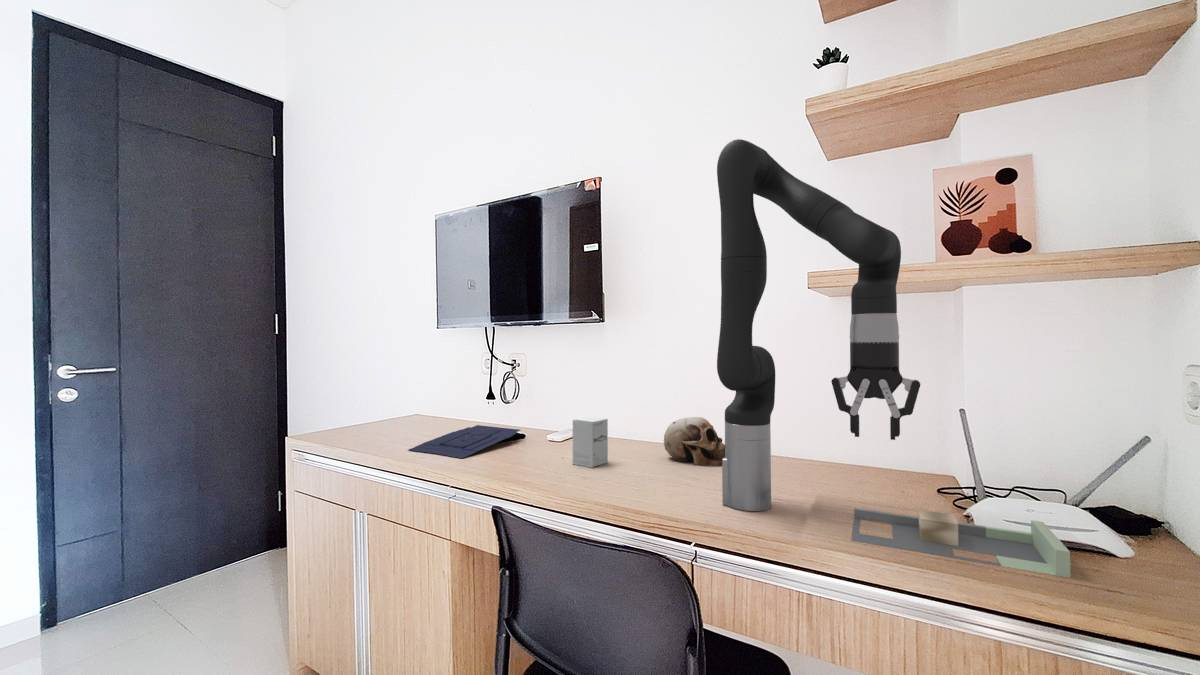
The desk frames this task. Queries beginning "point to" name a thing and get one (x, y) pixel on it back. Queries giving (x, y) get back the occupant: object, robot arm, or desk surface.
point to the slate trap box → (975, 543)
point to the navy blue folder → (465, 441)
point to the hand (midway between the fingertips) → (874, 437)
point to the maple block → (938, 527)
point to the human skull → (694, 442)
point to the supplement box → (590, 441)
